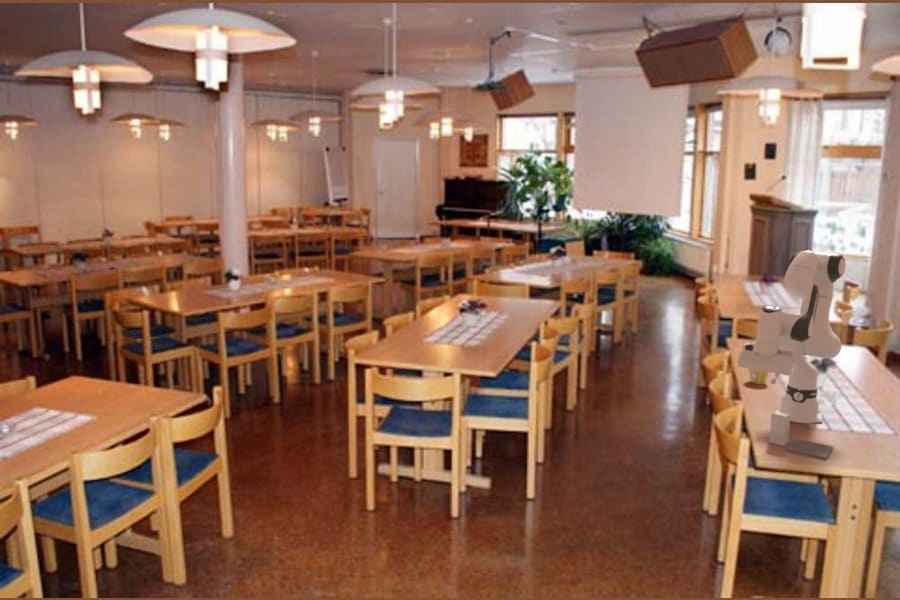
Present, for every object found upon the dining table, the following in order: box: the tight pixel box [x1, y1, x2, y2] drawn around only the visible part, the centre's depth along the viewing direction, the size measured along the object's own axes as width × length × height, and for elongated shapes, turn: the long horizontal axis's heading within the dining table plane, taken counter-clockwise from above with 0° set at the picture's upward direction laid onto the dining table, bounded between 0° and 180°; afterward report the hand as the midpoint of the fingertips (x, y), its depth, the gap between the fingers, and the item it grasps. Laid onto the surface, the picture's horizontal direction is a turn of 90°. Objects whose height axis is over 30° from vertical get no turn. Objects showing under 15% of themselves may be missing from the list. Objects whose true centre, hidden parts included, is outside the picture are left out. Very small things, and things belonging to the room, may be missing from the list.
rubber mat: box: [785, 437, 834, 461], centre depth 299 cm, size 14×14×1 cm
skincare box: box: [768, 410, 791, 447], centre depth 305 cm, size 6×4×12 cm
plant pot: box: [749, 370, 770, 385], centre depth 386 cm, size 10×10×10 cm
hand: (763, 381), depth 306 cm, fingers open, 6 cm apart
